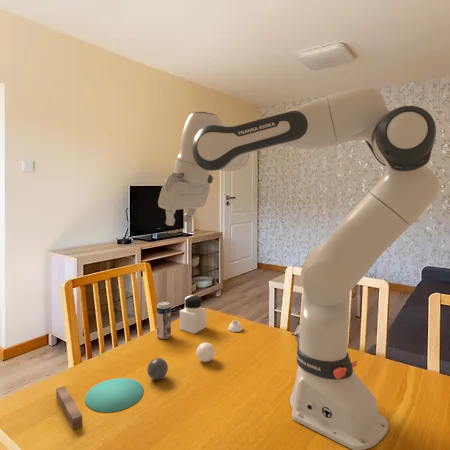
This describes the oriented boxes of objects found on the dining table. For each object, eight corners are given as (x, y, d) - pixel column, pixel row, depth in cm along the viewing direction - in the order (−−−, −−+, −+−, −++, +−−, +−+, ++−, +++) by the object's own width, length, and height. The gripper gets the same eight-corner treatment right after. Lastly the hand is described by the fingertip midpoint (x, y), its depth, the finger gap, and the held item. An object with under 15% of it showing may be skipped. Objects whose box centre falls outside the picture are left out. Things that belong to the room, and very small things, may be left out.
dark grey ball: (171, 379, 95) (171, 360, 95) (153, 386, 92) (153, 366, 91) (161, 370, 100) (161, 352, 99) (143, 377, 96) (143, 358, 96)
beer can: (167, 340, 119) (167, 306, 117) (154, 339, 120) (154, 305, 118) (172, 334, 123) (172, 301, 122) (160, 333, 124) (159, 300, 123)
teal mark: (153, 397, 87) (152, 396, 87) (96, 420, 79) (96, 419, 79) (129, 373, 98) (129, 372, 98) (77, 390, 89) (77, 390, 89)
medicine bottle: (206, 327, 130) (206, 296, 129) (194, 334, 124) (194, 301, 123) (191, 323, 134) (191, 292, 132) (179, 329, 128) (179, 297, 126)
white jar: (225, 329, 129) (234, 334, 125) (225, 321, 129) (234, 326, 125) (236, 326, 132) (244, 330, 128) (236, 318, 132) (245, 323, 128)
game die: (307, 360, 115) (313, 345, 108) (285, 344, 119) (289, 329, 112) (320, 340, 120) (326, 324, 113) (298, 326, 124) (303, 310, 117)
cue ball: (218, 361, 105) (218, 344, 105) (203, 367, 102) (203, 349, 101) (207, 354, 110) (207, 337, 109) (192, 359, 106) (192, 342, 106)
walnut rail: (82, 426, 77) (82, 415, 76) (72, 429, 76) (72, 419, 75) (65, 395, 88) (64, 385, 87) (56, 398, 86) (56, 388, 86)
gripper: (180, 175, 82) (167, 231, 85) (216, 178, 101) (204, 223, 104) (158, 168, 85) (146, 223, 87) (197, 172, 103) (186, 217, 106)
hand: (178, 223), depth 96 cm, fingers open, 8 cm apart
